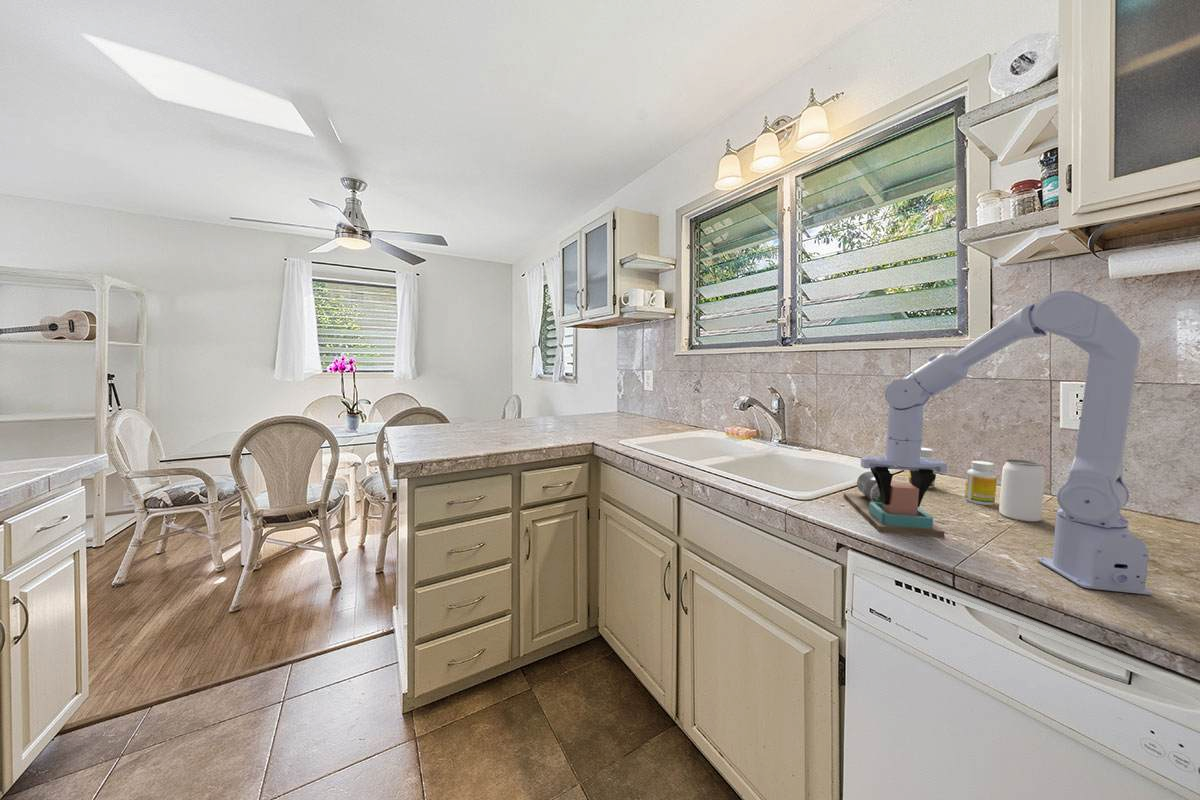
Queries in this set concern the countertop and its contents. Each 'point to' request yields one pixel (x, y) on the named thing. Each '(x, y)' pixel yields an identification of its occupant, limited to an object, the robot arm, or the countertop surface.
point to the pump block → (902, 499)
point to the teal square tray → (901, 517)
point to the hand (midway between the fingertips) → (899, 504)
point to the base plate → (862, 506)
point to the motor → (869, 486)
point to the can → (1022, 490)
